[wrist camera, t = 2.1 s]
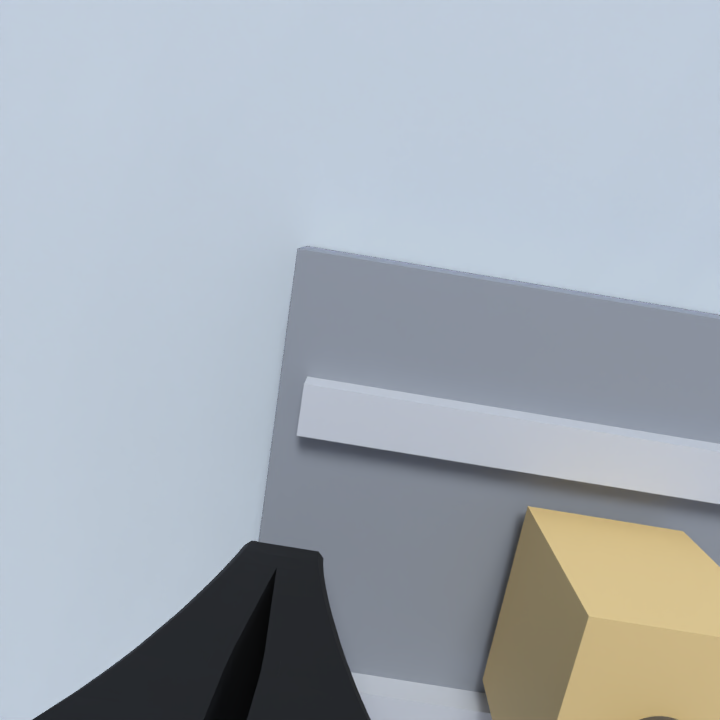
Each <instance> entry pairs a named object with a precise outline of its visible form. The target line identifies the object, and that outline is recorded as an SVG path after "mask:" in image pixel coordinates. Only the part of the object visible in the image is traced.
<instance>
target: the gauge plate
mask: <svg viewBox="0 0 720 720" xmlns="http://www.w3.org/2000/svg"><path fill="white" fill-rule="evenodd" d="M528 506H530V507H536V508H543V509H549V510H555V511H561V512H567V513H574V514H580V515H586V516H592V517H598V518H605V519H611V520H617V521H623V522H629V523H636V524H642V525H648V526H654V527H660V528H667V529H673V530H679V531H683V532H684V533H686V534H687V535H688V536H689V537H690V538H691V539H692V540H693V541H694V542H695V543H696V544H697V545H698V546H699V547H700V548H701V549H702V550H703V551H704V552H705V553H706V554H707V555H708V556H709V557H710V558H711V559H712V560H713V561H714V562H715V563H716V564H717V565H718V566H719V567H720V315H717V314H711V313H705V312H699V311H693V310H687V309H681V308H675V307H669V306H663V305H657V304H651V303H645V302H639V301H633V300H627V299H621V298H615V297H609V296H603V295H597V294H591V293H585V292H579V291H573V290H567V289H561V288H555V287H549V286H543V285H537V284H531V283H526V282H520V281H514V280H508V279H502V278H496V277H490V276H484V275H478V274H472V273H466V272H460V271H454V270H448V269H442V268H436V267H430V266H424V265H418V264H412V263H406V262H400V261H394V260H388V259H382V258H376V257H370V256H364V255H358V254H352V253H346V252H340V251H334V250H328V249H322V248H316V247H310V246H306V247H302V248H298V249H297V256H296V263H295V271H294V278H293V286H292V294H291V301H290V309H289V316H288V324H287V331H286V339H285V346H284V354H283V361H282V369H281V377H280V384H279V392H278V399H277V407H276V414H275V422H274V429H273V437H272V444H271V452H270V460H269V467H268V475H267V482H266V490H265V497H264V505H263V512H262V520H261V527H260V535H259V542H263V543H269V544H275V545H282V546H288V547H294V548H300V549H307V550H313V551H319V553H320V554H321V555H322V557H323V558H324V559H323V569H324V579H325V585H326V590H327V595H328V600H329V604H330V608H331V612H332V616H333V619H334V623H335V626H336V629H337V633H338V636H339V640H340V643H341V646H342V649H343V652H344V655H345V658H346V660H347V663H348V666H349V668H350V671H351V674H352V676H353V679H354V682H355V684H356V687H357V689H358V692H359V694H360V696H361V699H362V701H363V703H364V706H365V708H366V710H367V712H368V715H369V717H370V719H371V720H492V717H491V713H490V709H489V705H488V701H487V696H486V692H485V688H484V684H483V680H482V679H483V676H484V672H485V668H486V664H487V660H488V656H489V653H490V649H491V645H492V641H493V637H494V633H495V630H496V626H497V622H498V618H499V614H500V610H501V607H502V603H503V599H504V595H505V591H506V587H507V584H508V580H509V576H510V572H511V568H512V564H513V561H514V557H515V553H516V549H517V545H518V541H519V538H520V534H521V530H522V526H523V522H524V518H525V515H526V511H527V507H528Z"/></svg>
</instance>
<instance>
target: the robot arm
mask: <svg viewBox="0 0 720 720" xmlns="http://www.w3.org/2000/svg"><path fill="white" fill-rule="evenodd" d="M323 559H324V558H323V557H322V555H321V554H320V553H319V551H313V550H307V549H300V548H294V547H288V546H282V545H275V544H269V543H263V542H257V541H250V542H249V543H247V544H246V545H244V547H243V548H242V549H241V550H240V551H239V552H238V554H237V555H236V556H235V557H234V558H233V559H232V560H231V561H230V562H229V563H228V564H227V566H226V567H225V568H224V569H223V570H222V571H221V572H220V573H219V574H218V575H217V576H216V577H215V578H214V579H213V580H212V581H211V582H210V583H209V584H208V585H207V586H206V587H205V588H204V589H203V590H202V591H201V592H199V593H198V594H197V595H196V596H195V597H194V598H193V599H192V600H191V601H190V602H189V603H188V604H187V605H186V606H185V607H184V608H183V609H181V610H180V611H179V612H178V613H177V614H176V615H175V616H174V617H172V618H171V619H170V620H169V621H168V622H166V623H165V624H164V625H163V626H162V627H160V628H159V629H158V630H157V631H156V632H154V633H153V634H152V635H151V636H150V637H149V638H147V639H146V640H145V641H144V642H143V643H141V644H140V645H139V646H138V647H136V648H135V649H134V650H133V651H131V652H130V653H129V654H127V655H126V656H125V657H123V658H122V659H121V660H120V661H118V662H117V663H116V664H114V665H113V666H111V667H110V668H109V669H107V670H106V671H105V672H103V673H102V674H100V675H99V676H98V677H96V678H95V679H93V680H92V681H91V682H89V683H88V684H86V685H85V686H83V687H82V688H81V689H79V690H78V691H76V692H75V693H73V694H72V695H70V696H68V697H67V698H65V699H64V700H62V701H61V702H59V703H58V704H56V705H54V706H53V707H51V708H50V709H48V710H47V711H45V712H44V713H42V714H41V715H39V716H37V717H36V718H34V719H33V720H371V719H370V717H369V715H368V712H367V710H366V708H365V706H364V703H363V701H362V699H361V696H360V694H359V692H358V689H357V687H356V684H355V682H354V679H353V676H352V674H351V671H350V668H349V666H348V663H347V660H346V658H345V655H344V652H343V649H342V646H341V643H340V640H339V636H338V633H337V629H336V626H335V623H334V619H333V616H332V612H331V608H330V604H329V600H328V595H327V590H326V585H325V579H324V569H323Z"/></svg>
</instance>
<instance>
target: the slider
mask: <svg viewBox="0 0 720 720" xmlns="http://www.w3.org/2000/svg"><path fill="white" fill-rule="evenodd" d="M482 680H483V684H484V688H485V692H486V696H487V701H488V705H489V709H490V713H491V717H492V720H720V567H719V566H718V565H717V564H716V563H715V562H714V561H713V560H712V559H711V558H710V557H709V556H708V555H707V554H706V553H705V552H704V551H703V550H702V549H701V548H700V547H699V546H698V545H697V544H696V543H695V542H694V541H693V540H692V539H691V538H690V537H689V536H688V535H687V534H686V533H684V532H683V531H679V530H673V529H667V528H660V527H654V526H648V525H642V524H636V523H629V522H623V521H617V520H611V519H605V518H598V517H592V516H586V515H580V514H574V513H567V512H561V511H555V510H549V509H543V508H536V507H530V506H528V507H527V511H526V515H525V518H524V522H523V526H522V530H521V534H520V538H519V541H518V545H517V549H516V553H515V557H514V561H513V564H512V568H511V572H510V576H509V580H508V584H507V587H506V591H505V595H504V599H503V603H502V607H501V610H500V614H499V618H498V622H497V626H496V630H495V633H494V637H493V641H492V645H491V649H490V653H489V656H488V660H487V664H486V668H485V672H484V676H483V679H482Z"/></svg>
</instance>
